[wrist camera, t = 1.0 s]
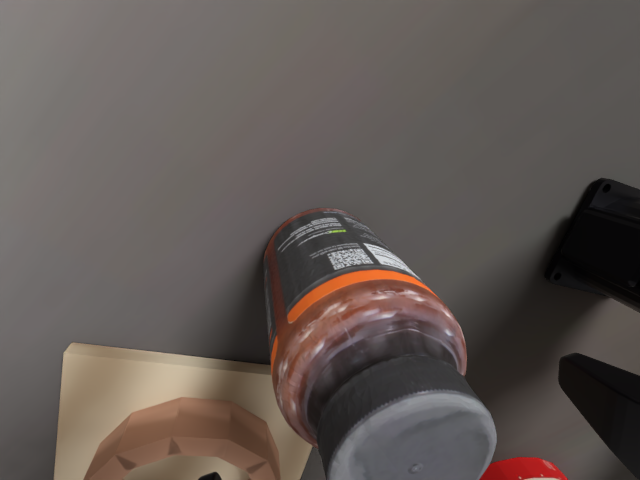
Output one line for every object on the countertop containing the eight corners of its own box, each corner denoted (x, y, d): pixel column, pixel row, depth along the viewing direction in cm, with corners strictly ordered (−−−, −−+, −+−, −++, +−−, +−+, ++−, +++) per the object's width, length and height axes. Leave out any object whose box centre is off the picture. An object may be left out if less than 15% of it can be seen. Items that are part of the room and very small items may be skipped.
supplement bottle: (308, 327, 19) (373, 587, 9) (237, 253, 17) (210, 486, 6) (394, 264, 19) (571, 459, 8) (334, 179, 16) (473, 301, 6)
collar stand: (333, 372, 21) (347, 416, 18) (276, 526, 25) (279, 582, 22) (72, 342, 17) (33, 391, 14) (55, 528, 21) (23, 596, 18)
